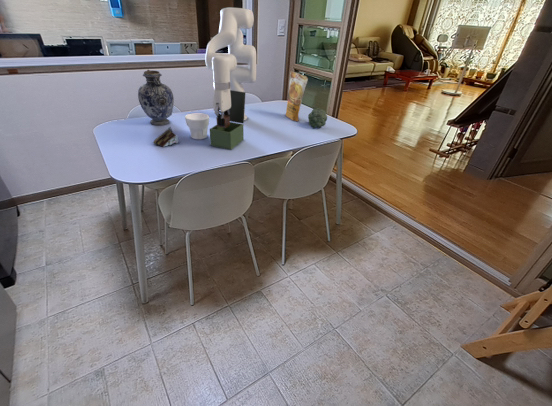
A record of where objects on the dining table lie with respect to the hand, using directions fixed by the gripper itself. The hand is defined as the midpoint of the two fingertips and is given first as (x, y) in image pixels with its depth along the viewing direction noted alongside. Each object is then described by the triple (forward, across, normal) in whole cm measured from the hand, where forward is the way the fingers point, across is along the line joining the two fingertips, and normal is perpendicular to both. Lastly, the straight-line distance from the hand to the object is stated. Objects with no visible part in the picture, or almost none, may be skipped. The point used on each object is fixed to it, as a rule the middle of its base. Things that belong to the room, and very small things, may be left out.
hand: (223, 123), depth 143 cm
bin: (+11, -3, 0) cm, 11 cm away
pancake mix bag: (+12, -62, +18) cm, 66 cm away
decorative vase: (+11, -12, -50) cm, 53 cm away
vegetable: (+12, -53, +36) cm, 65 cm away
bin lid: (-6, -11, 0) cm, 12 cm away
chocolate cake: (+11, +12, -26) cm, 31 cm away
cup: (+11, -3, -18) cm, 21 cm away
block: (+1, 0, 0) cm, 1 cm away
